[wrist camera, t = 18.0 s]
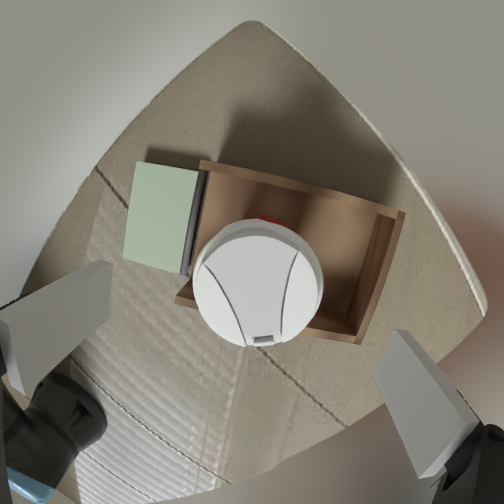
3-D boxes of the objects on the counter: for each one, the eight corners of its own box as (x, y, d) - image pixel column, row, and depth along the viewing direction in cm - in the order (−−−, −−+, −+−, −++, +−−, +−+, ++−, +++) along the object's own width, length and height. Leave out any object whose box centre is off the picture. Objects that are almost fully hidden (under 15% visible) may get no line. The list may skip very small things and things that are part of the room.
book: (188, 272, 32) (129, 256, 32) (208, 171, 29) (143, 160, 29) (184, 277, 30) (122, 259, 31) (204, 170, 28) (137, 159, 28)
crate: (192, 280, 32) (174, 303, 26) (216, 164, 29) (200, 159, 23) (346, 316, 32) (360, 344, 26) (380, 206, 29) (405, 212, 23)
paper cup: (306, 275, 30) (330, 347, 16) (232, 284, 30) (203, 359, 17) (297, 198, 28) (319, 212, 14) (220, 209, 29) (173, 233, 15)
